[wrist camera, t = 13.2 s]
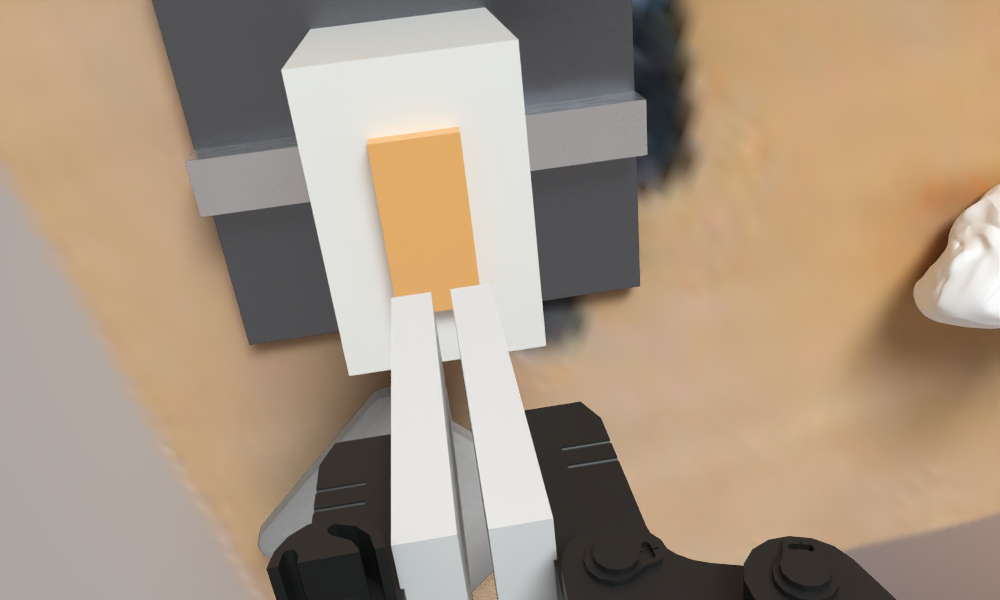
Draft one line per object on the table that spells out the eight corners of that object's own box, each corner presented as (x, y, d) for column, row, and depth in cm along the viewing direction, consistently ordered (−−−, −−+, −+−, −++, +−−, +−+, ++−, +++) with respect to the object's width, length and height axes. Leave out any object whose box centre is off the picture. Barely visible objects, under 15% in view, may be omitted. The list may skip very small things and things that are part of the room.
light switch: (384, 355, 34) (383, 423, 29) (554, 460, 38) (577, 535, 33) (258, 507, 37) (239, 590, 32) (428, 591, 40) (433, 677, 36)
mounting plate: (621, -90, 27) (641, -90, 25) (633, 276, 34) (650, 302, 31) (151, -34, 26) (129, -29, 24) (253, 333, 33) (243, 363, 30)
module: (485, 7, 27) (521, 43, 20) (510, 247, 31) (549, 355, 24) (310, 29, 27) (278, 74, 19) (358, 269, 31) (348, 386, 23)
